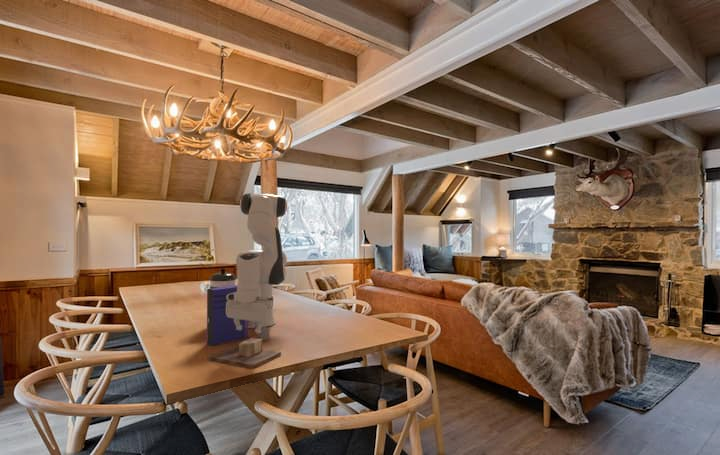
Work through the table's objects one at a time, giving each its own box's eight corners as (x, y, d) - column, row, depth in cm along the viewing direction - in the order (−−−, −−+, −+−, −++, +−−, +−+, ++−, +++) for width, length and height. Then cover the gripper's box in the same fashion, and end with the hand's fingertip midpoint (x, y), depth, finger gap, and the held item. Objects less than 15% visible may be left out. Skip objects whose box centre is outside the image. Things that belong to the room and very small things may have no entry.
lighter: (269, 338, 169) (269, 320, 169) (269, 339, 167) (269, 321, 167) (253, 339, 167) (253, 321, 167) (253, 340, 166) (253, 322, 166)
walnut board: (207, 359, 140) (207, 356, 140) (237, 347, 155) (237, 344, 155) (253, 368, 131) (253, 365, 131) (280, 355, 146) (280, 351, 146)
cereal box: (242, 335, 173) (242, 284, 173) (248, 337, 170) (248, 285, 170) (206, 344, 160) (207, 288, 160) (212, 346, 157) (212, 289, 157)
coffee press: (198, 329, 184) (199, 269, 185) (219, 322, 200) (220, 266, 200) (228, 332, 179) (229, 270, 180) (247, 324, 195) (248, 267, 195)
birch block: (248, 356, 140) (262, 350, 148) (248, 344, 140) (262, 339, 148) (239, 354, 142) (253, 349, 149) (239, 343, 142) (253, 337, 149)
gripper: (275, 296, 143) (275, 332, 143) (234, 292, 151) (234, 326, 151) (264, 299, 137) (264, 337, 137) (223, 294, 145) (222, 330, 145)
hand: (248, 331), depth 144 cm, fingers open, 8 cm apart
